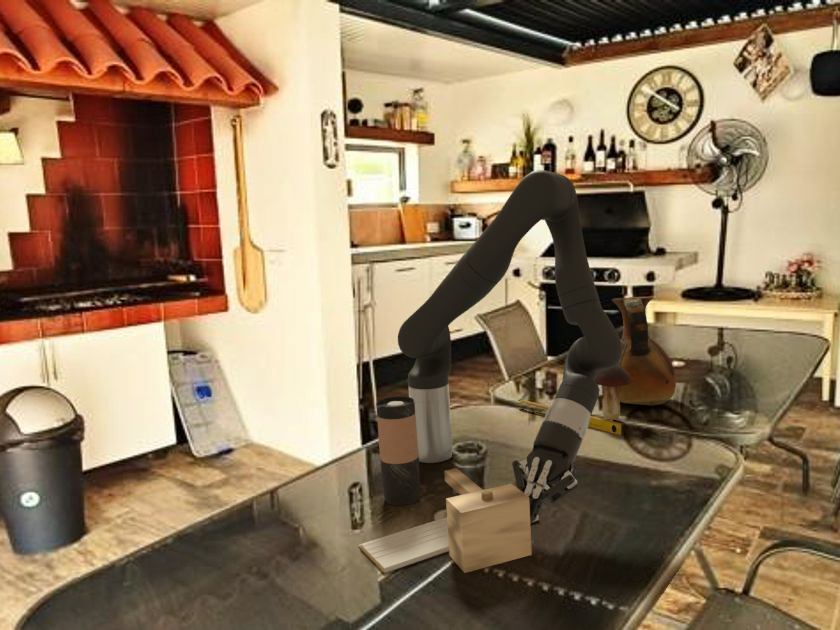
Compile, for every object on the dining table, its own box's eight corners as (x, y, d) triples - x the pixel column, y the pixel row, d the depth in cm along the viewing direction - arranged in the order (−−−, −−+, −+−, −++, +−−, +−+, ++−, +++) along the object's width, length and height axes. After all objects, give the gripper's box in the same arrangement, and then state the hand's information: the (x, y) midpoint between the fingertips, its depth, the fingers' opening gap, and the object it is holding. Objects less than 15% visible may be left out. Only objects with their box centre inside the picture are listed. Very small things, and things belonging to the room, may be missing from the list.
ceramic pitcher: (665, 391, 195) (664, 289, 190) (685, 412, 175) (685, 299, 171) (596, 394, 197) (593, 292, 192) (608, 415, 177) (606, 302, 173)
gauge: (423, 525, 122) (419, 469, 120) (482, 511, 126) (479, 456, 124) (464, 573, 105) (460, 508, 104) (531, 554, 109) (529, 492, 108)
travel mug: (427, 492, 136) (421, 397, 133) (411, 508, 129) (404, 408, 126) (394, 488, 139) (387, 394, 136) (376, 503, 132) (368, 405, 129)
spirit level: (625, 435, 162) (625, 423, 162) (622, 436, 161) (621, 424, 161) (521, 409, 188) (521, 398, 188) (518, 410, 187) (518, 399, 187)
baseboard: (355, 546, 117) (385, 577, 107) (354, 530, 117) (383, 560, 106) (500, 500, 132) (539, 523, 121) (499, 486, 131) (538, 508, 121)
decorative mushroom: (642, 422, 170) (642, 364, 168) (609, 430, 165) (607, 371, 163) (612, 411, 180) (611, 357, 177) (580, 419, 175) (578, 363, 173)
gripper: (522, 413, 121) (482, 501, 115) (587, 426, 112) (548, 523, 105) (540, 433, 126) (503, 519, 119) (604, 447, 116) (568, 541, 110)
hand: (524, 520), depth 112 cm, fingers closed
